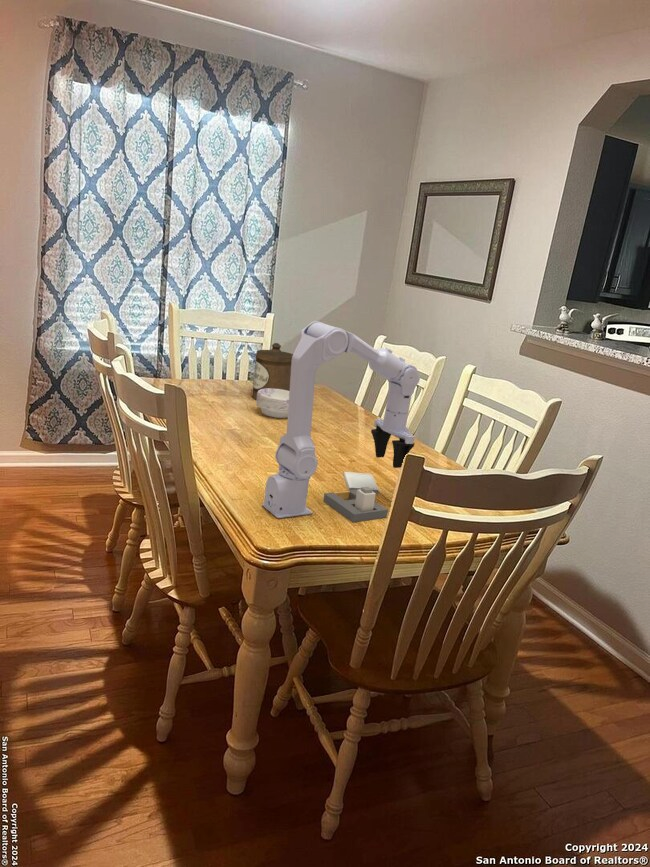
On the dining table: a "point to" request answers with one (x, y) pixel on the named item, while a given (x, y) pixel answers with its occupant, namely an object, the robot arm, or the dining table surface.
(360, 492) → the plug
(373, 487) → the hard drive
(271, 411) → the paper bowls
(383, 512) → the socket panel
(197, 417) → the dining table surface
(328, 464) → the dining table surface
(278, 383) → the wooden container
